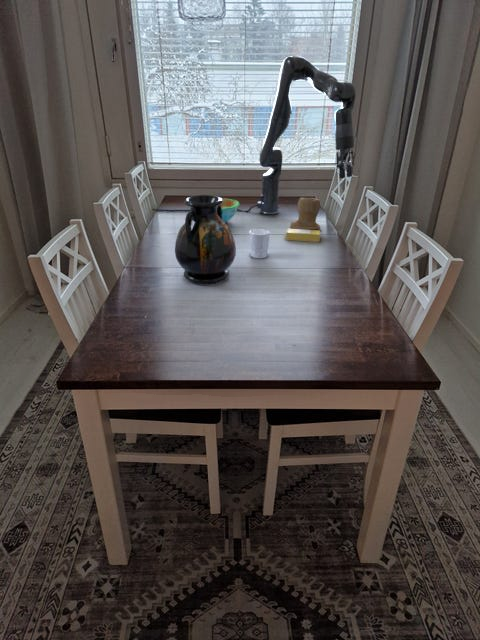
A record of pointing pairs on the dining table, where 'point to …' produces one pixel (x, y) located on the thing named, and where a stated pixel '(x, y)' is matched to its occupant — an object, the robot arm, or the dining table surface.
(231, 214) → the bowl
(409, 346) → the dining table surface
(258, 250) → the white cup
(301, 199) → the stone cup
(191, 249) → the amphora vase
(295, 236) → the packet
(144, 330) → the dining table surface
